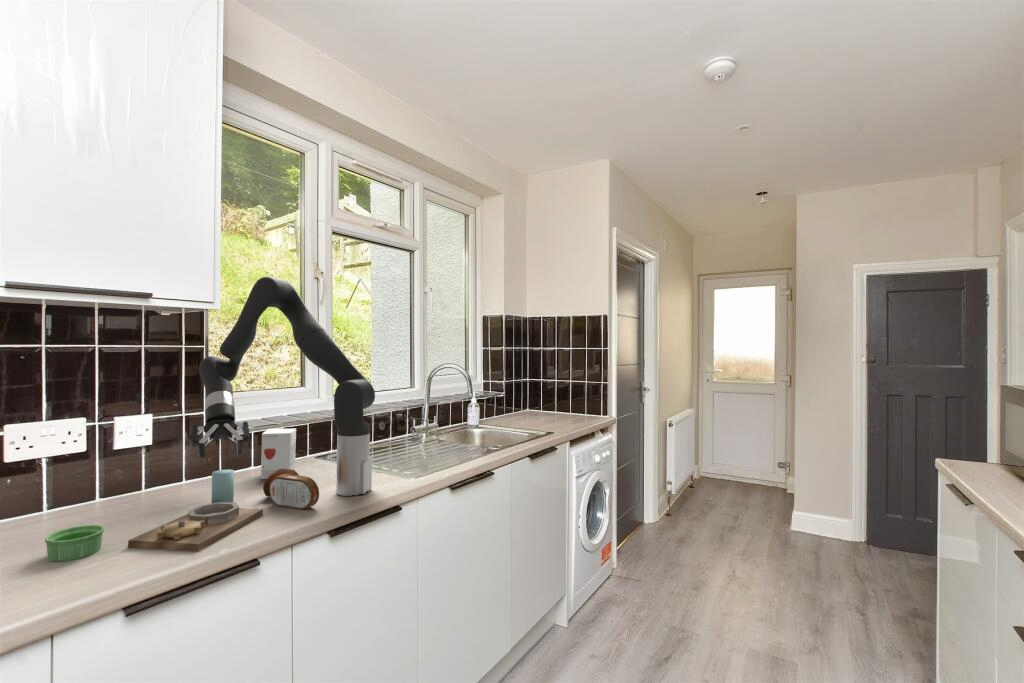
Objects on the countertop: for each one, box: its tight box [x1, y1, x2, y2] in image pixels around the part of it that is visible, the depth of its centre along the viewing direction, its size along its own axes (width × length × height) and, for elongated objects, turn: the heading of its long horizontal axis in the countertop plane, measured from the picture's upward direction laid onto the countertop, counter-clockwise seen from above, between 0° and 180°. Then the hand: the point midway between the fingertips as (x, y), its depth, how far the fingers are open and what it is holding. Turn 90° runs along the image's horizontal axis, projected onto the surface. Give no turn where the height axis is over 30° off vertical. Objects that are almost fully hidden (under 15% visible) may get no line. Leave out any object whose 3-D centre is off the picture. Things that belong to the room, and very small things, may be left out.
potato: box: [262, 469, 299, 498], centre depth 139 cm, size 8×12×8 cm, turn 156°
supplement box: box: [260, 428, 297, 480], centre depth 160 cm, size 9×9×15 cm
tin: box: [269, 474, 320, 511], centre depth 129 cm, size 15×3×8 cm, turn 71°
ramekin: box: [44, 524, 105, 563], centre depth 99 cm, size 9×9×4 cm
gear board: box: [127, 502, 264, 552], centre depth 112 cm, size 16×22×4 cm
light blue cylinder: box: [210, 469, 235, 504], centre depth 128 cm, size 5×5×10 cm
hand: (221, 455), depth 134 cm, fingers open, 8 cm apart
